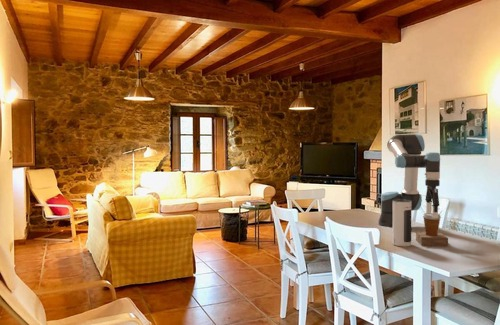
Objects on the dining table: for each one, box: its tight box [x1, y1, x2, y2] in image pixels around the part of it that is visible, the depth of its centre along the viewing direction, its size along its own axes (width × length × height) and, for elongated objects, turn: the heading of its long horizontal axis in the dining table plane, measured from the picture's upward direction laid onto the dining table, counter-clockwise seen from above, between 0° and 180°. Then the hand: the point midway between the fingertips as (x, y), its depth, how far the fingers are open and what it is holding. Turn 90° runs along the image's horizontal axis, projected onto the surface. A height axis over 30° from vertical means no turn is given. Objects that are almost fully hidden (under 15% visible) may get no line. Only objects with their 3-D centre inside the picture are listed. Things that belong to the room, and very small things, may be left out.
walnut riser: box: [415, 231, 449, 248], centre depth 239 cm, size 14×14×5 cm
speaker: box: [392, 199, 412, 248], centre depth 236 cm, size 11×10×26 cm
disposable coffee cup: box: [422, 212, 442, 236], centre depth 238 cm, size 10×10×12 cm
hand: (431, 215), depth 238 cm, fingers open, 13 cm apart
